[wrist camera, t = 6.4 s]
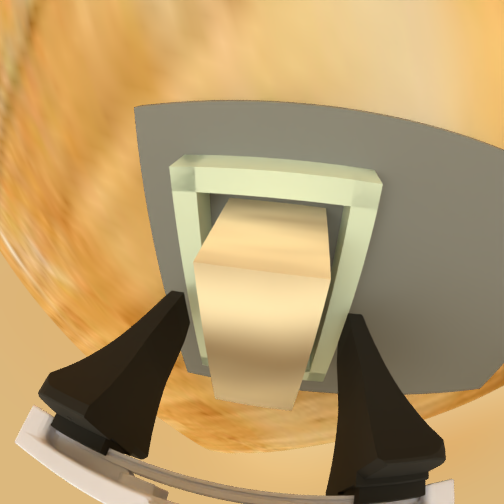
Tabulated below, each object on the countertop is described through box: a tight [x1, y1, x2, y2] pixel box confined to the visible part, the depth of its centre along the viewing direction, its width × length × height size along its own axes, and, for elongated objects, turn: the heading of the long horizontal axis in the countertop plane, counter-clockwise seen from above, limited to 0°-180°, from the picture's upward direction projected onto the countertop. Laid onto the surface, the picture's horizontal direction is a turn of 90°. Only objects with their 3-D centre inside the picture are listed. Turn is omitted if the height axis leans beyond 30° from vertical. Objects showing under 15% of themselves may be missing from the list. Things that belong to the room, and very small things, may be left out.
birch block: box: [193, 198, 331, 411], centre depth 13 cm, size 9×4×4 cm, turn 179°
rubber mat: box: [134, 100, 504, 394], centre depth 14 cm, size 26×19×1 cm
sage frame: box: [169, 155, 383, 382], centre depth 14 cm, size 8×13×2 cm, turn 179°
